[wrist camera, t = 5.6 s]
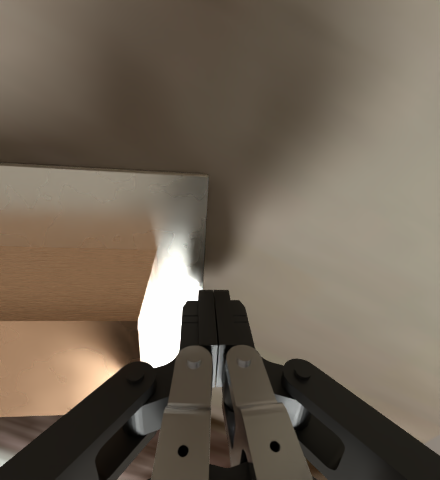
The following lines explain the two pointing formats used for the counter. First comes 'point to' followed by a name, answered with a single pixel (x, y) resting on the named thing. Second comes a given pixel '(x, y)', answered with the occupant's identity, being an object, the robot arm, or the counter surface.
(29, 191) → the block stand
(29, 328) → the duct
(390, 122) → the counter surface
